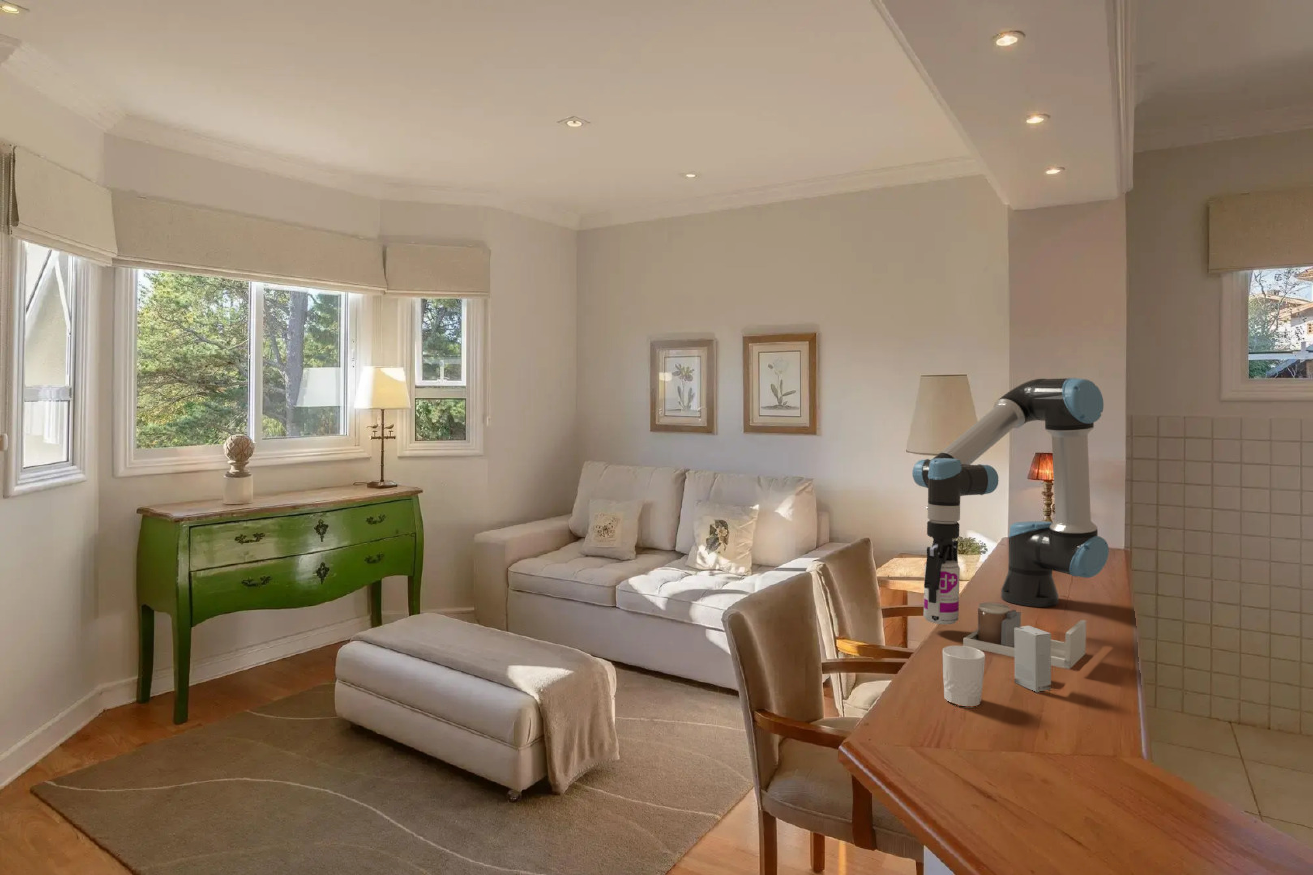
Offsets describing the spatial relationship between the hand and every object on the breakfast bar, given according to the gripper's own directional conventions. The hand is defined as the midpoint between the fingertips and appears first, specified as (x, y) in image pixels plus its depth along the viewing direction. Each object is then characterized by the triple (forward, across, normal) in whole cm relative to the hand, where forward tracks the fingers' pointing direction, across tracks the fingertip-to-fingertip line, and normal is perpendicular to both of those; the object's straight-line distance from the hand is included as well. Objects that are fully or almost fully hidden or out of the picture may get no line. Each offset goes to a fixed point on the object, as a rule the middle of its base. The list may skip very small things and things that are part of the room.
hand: (940, 611), depth 196 cm
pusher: (+5, 0, +17) cm, 18 cm away
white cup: (+7, +36, +19) cm, 41 cm away
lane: (+7, 0, +20) cm, 21 cm away
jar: (+5, 0, +13) cm, 14 cm away
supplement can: (+2, 0, 0) cm, 2 cm away
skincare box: (+7, +19, +27) cm, 34 cm away
